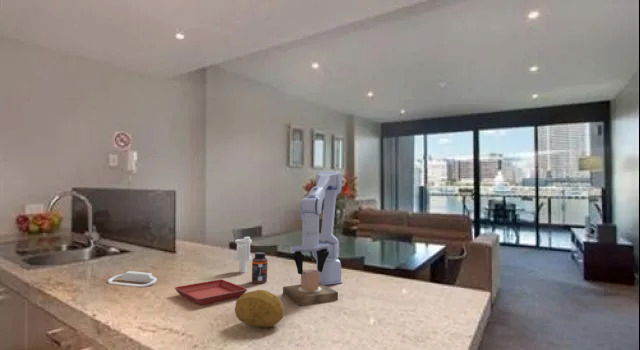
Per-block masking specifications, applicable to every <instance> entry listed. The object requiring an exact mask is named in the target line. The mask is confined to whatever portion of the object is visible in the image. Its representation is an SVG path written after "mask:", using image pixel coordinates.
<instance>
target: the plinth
mask: <svg viewBox="0 0 640 350" xmlns="http://www.w3.org/2000/svg"><path fill="white" fill-rule="evenodd" d="M282 295H284V296H286V298H288V299H289V300H291V301H293V302H294V303H295V304H297V305H298V306H306V305H312V304H319V303H320V304H321V303H325V302H331V301H338V299H339V292H338V291H337V290H334V289H333V288H330V287H329V286H328V285H323V284H321V283H319V282H318V290H310V291H306V290H304V289H302V288H301V283H300V284H295V285H294V284H292V285H286V286H282Z"/></svg>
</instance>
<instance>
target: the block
mask: <svg viewBox="0 0 640 350" xmlns="http://www.w3.org/2000/svg"><path fill="white" fill-rule="evenodd" d="M318 282H319V272H318V271H317V269H316V270H315V269H314V268H310V269H309V268H308V269H303V272H302V274H300V284H301V288H302V289H304V290H306V291H310V290H318Z"/></svg>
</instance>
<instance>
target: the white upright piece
mask: <svg viewBox="0 0 640 350" xmlns="http://www.w3.org/2000/svg"><path fill="white" fill-rule="evenodd" d="M234 243H235V244H236V256H235V257H234V260H235V261H239V270H238V271H239V273H242V274H244V273H247V272H248V271H247V266H248V265H247V264H248V261H251V260H252V255H251V244H252V243H253V239H251V236H244V237H243V238H240V239H239V238H238V239H235V242H234Z"/></svg>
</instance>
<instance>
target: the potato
mask: <svg viewBox="0 0 640 350" xmlns="http://www.w3.org/2000/svg"><path fill="white" fill-rule="evenodd" d="M234 306H235V307H234V313H235V316H236V318H237V319H238V320H239V321H240V322H242V323H244V324H246V325H248V326H250V327H254V328H260V329H261V328H262V329H263V328H266V329H268V328H270V327H274V326H275V325H277V324H278V323H279V322H280V321H281V320H282V319H283V318H284V314H285V313H284V305H283V303H282V300H281V299H280V298H279V297H278V296H277V295H276V294H274V293H272V292H270V291H268V290H263V289H257V290H253V291H247V292H245V293H244V294H243V295H241V296H240V297H239V298H236V302H235V305H234Z"/></svg>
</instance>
